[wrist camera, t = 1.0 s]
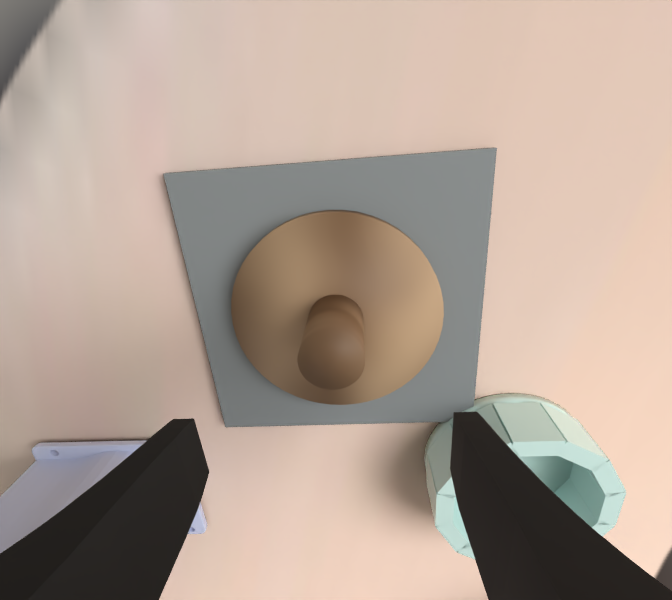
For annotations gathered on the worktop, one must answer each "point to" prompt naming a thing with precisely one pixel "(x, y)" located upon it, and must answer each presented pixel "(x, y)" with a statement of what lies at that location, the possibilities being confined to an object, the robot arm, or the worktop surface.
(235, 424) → the mat
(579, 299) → the worktop surface
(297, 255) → the lid
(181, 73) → the worktop surface
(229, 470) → the worktop surface
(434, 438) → the bowl
